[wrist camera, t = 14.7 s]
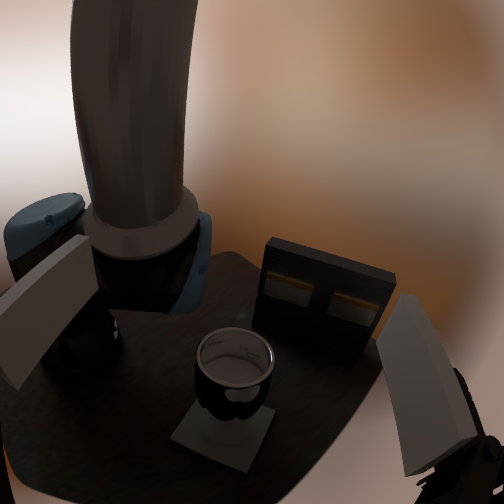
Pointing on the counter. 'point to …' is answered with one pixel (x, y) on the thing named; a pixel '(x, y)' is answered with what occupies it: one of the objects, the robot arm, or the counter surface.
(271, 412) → the rubber mat
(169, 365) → the counter surface
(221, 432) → the beer glass
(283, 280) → the label panel
